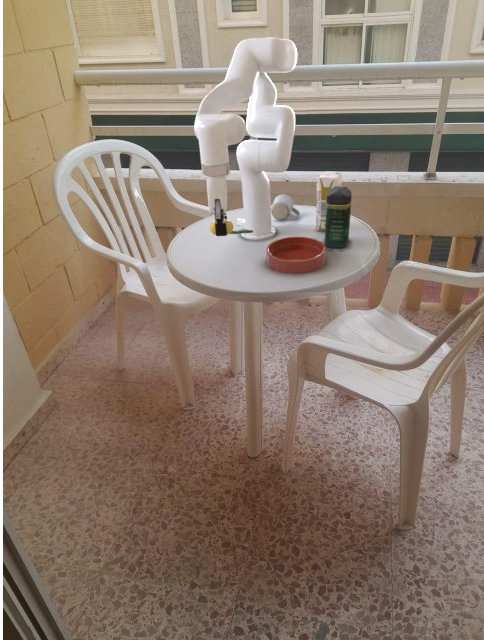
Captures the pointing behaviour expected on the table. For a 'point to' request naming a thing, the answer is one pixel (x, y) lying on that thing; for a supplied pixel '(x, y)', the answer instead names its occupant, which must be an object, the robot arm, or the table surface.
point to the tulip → (229, 228)
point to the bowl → (296, 255)
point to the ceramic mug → (283, 208)
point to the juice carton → (323, 186)
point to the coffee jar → (337, 217)
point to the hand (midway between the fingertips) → (222, 231)
